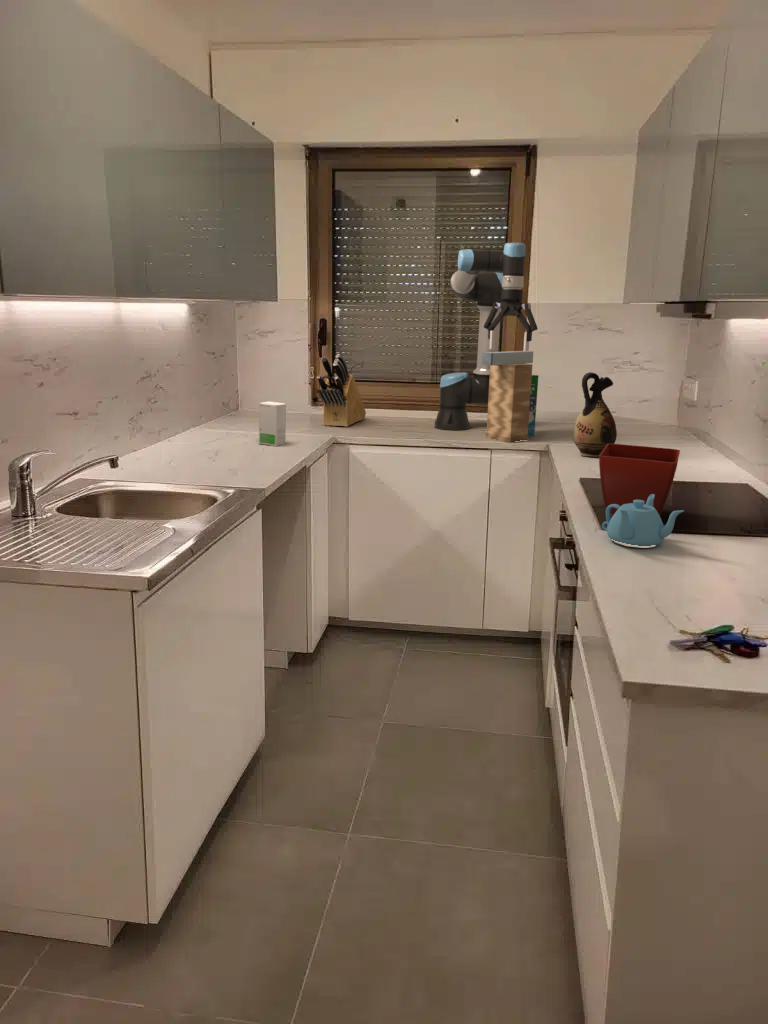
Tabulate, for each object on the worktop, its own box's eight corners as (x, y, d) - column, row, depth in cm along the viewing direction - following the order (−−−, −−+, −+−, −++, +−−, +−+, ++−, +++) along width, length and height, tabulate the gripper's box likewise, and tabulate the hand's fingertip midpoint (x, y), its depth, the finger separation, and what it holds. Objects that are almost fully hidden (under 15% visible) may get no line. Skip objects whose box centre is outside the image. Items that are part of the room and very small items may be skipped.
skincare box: (258, 444, 301) (257, 402, 297) (268, 441, 306) (268, 400, 302) (276, 446, 297) (276, 404, 293) (287, 443, 303) (286, 402, 299)
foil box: (481, 364, 307) (482, 352, 306) (524, 362, 322) (524, 350, 321) (490, 365, 304) (491, 353, 303) (532, 363, 318) (533, 351, 317)
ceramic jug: (597, 450, 302) (604, 370, 294) (623, 458, 289) (631, 374, 281) (559, 452, 296) (565, 370, 288) (583, 460, 283) (590, 375, 275)
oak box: (485, 437, 324) (489, 362, 316) (503, 435, 330) (507, 361, 322) (510, 443, 314) (515, 365, 306) (528, 440, 320) (533, 364, 312)
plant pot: (669, 527, 203) (677, 462, 198) (592, 518, 209) (598, 455, 205) (673, 509, 220) (680, 449, 215) (601, 501, 227) (607, 443, 222)
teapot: (594, 533, 196) (597, 493, 193) (652, 532, 198) (657, 492, 195) (617, 552, 182) (621, 509, 179) (680, 551, 184) (685, 508, 181)
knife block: (314, 429, 336) (314, 354, 328) (343, 417, 369) (343, 349, 361) (339, 431, 333) (340, 355, 325) (366, 419, 366) (367, 350, 357)
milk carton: (532, 432, 339) (536, 372, 332) (534, 436, 330) (538, 375, 324) (510, 431, 340) (514, 372, 333) (512, 435, 331) (515, 374, 324)
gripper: (476, 288, 288) (473, 348, 293) (540, 288, 274) (536, 352, 280) (486, 288, 294) (483, 347, 299) (549, 289, 280) (545, 351, 285)
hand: (508, 349), depth 289 cm, fingers open, 13 cm apart
